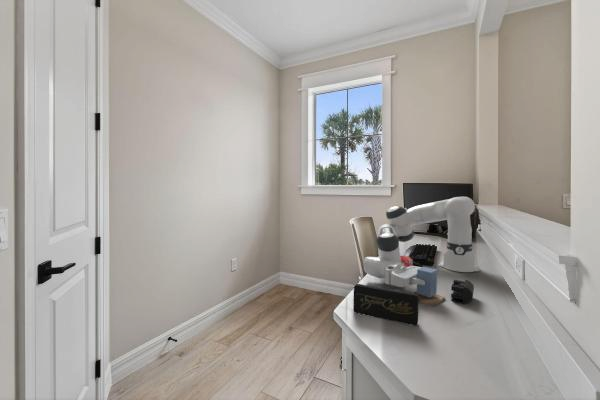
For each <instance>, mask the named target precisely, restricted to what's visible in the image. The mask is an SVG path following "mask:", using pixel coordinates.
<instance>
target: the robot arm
mask: <svg viewBox="0 0 600 400" xmlns="http://www.w3.org/2000/svg"><path fill="white" fill-rule="evenodd" d="M475 209H476V204H475V201H474V200H473V199H472V198H470V197H468V196H455V197H452V198H449V199H448V198H447V199H443V200H438V201H433V202H429V203H424V204H419V205H415V206H413V207H410V208H408V209H407V208H406V207H403V206H399V205H395V206H391V207H390V208H388V209H387V210H386V212H385V215H386V219H387V221H388V223H384V224H382V225H380V227H379V228H378V230H377V233H376V234H377V235H376V239H375V242H376V246H377V250H378V256H366V257H365V258H364V259H363V263H362V266H363V267H362V268H363V270H364V272H365V273H366V274H367V275H369V276H372V277H374V278H377V279H383V280H385V284H386V285H388V286H394V287H399V288H407V287H410V286H412V285H417V284H420V285H425V284H426V280H423V279H417V269H420V268H422V267H423V266H422V267H421V266H416V265H412V266H409V267H405V266H404V264H403V263H401V257H400V256H401V253H400V252H401V251H400V250H401V249H400V242H401V243H406V242H408V241H411V240H412V239H413V238H414V237H415V232H414V229H413V227H412V225H423V224H430V223H434V222H435V223H436V222H441V221H446V222H447V241H446V250H444V251H443V252H442V261H440V263H439V264H438V266H439V267H440V268H443V269H447V270H450V271H453V272H459V273H460V272H461V273H472V272H480V269H479V267H477V265H476V255H475V254H474V252H473V243H472V239H473V238H472V236H473V235H472V234H473V233H472V232H473V229H472V224H471V215H472V214H473V213H474V211H475Z"/></svg>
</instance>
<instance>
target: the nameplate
mask: <svg viewBox="0 0 600 400" xmlns="http://www.w3.org/2000/svg"><path fill="white" fill-rule="evenodd" d="M419 303H420V302H419V296H418V294H416V293H414V292H409V291H405V290H404V291H403V290H398V289H392V288H391V289H390V288H386V287H380V286H375V285H374V286H373V285H367V284H361V283H356V284H355V285H354V286H353V309H352V310H353V312H354V313H355V312H356V313H355V314H358V313H360V314H359V315H363V314H365V315H364V316H367V315H369V316H368V317H372V316H373V317H372V318H377V319H382V320H387V321H391V322H396V323H401V324H405V325H409V326H414V327H415V326H418V323H419Z"/></svg>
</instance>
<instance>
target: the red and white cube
mask: <svg viewBox="0 0 600 400" xmlns="http://www.w3.org/2000/svg"><path fill="white" fill-rule="evenodd" d="M400 257H401V263H403V264H404V266H405V267H409V266H413V259H412V258H411V257H410V256H408V255H400Z"/></svg>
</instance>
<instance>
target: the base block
mask: <svg viewBox="0 0 600 400" xmlns="http://www.w3.org/2000/svg"><path fill="white" fill-rule="evenodd" d="M413 293H416V294H418V293H417V290H416V291H415V292H413ZM418 296H419V303H421V304H425V305H428V306H431V307H436V306H437V305H439V304H440V303H441V302H443V301H444V300H446V296H444V295H440V294H437V293H436V294H435V295H433V296H432V297H428V296H425V295H422V294H418Z"/></svg>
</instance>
